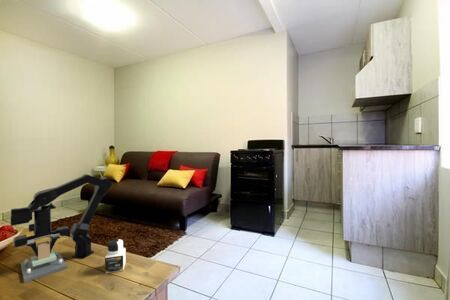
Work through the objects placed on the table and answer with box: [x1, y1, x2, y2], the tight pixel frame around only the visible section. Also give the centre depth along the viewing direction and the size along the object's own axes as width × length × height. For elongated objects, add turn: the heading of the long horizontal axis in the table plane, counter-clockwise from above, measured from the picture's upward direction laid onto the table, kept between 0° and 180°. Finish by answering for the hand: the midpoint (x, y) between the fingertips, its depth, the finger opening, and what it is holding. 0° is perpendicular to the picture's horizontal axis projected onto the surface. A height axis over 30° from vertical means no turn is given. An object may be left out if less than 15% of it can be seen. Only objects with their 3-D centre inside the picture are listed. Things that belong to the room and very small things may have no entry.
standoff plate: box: [20, 250, 68, 283], centre depth 98 cm, size 18×14×3 cm
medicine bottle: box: [104, 238, 127, 274], centre depth 97 cm, size 7×7×12 cm
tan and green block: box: [30, 240, 57, 267], centre depth 98 cm, size 8×8×7 cm
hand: (43, 254), depth 98 cm, fingers closed on tan and green block, 4 cm apart
